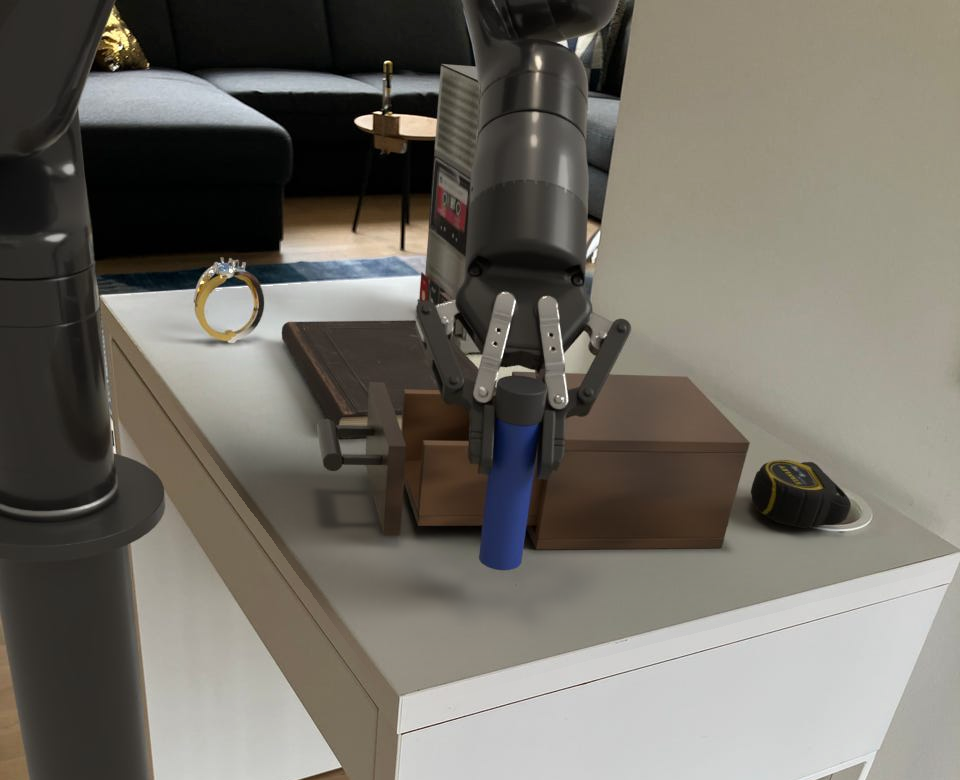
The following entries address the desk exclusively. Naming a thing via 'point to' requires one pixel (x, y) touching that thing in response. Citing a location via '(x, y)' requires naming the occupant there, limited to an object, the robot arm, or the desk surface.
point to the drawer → (418, 460)
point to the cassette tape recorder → (451, 190)
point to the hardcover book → (362, 364)
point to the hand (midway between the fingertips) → (515, 471)
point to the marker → (511, 470)
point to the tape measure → (798, 495)
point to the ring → (207, 287)
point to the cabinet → (642, 469)
